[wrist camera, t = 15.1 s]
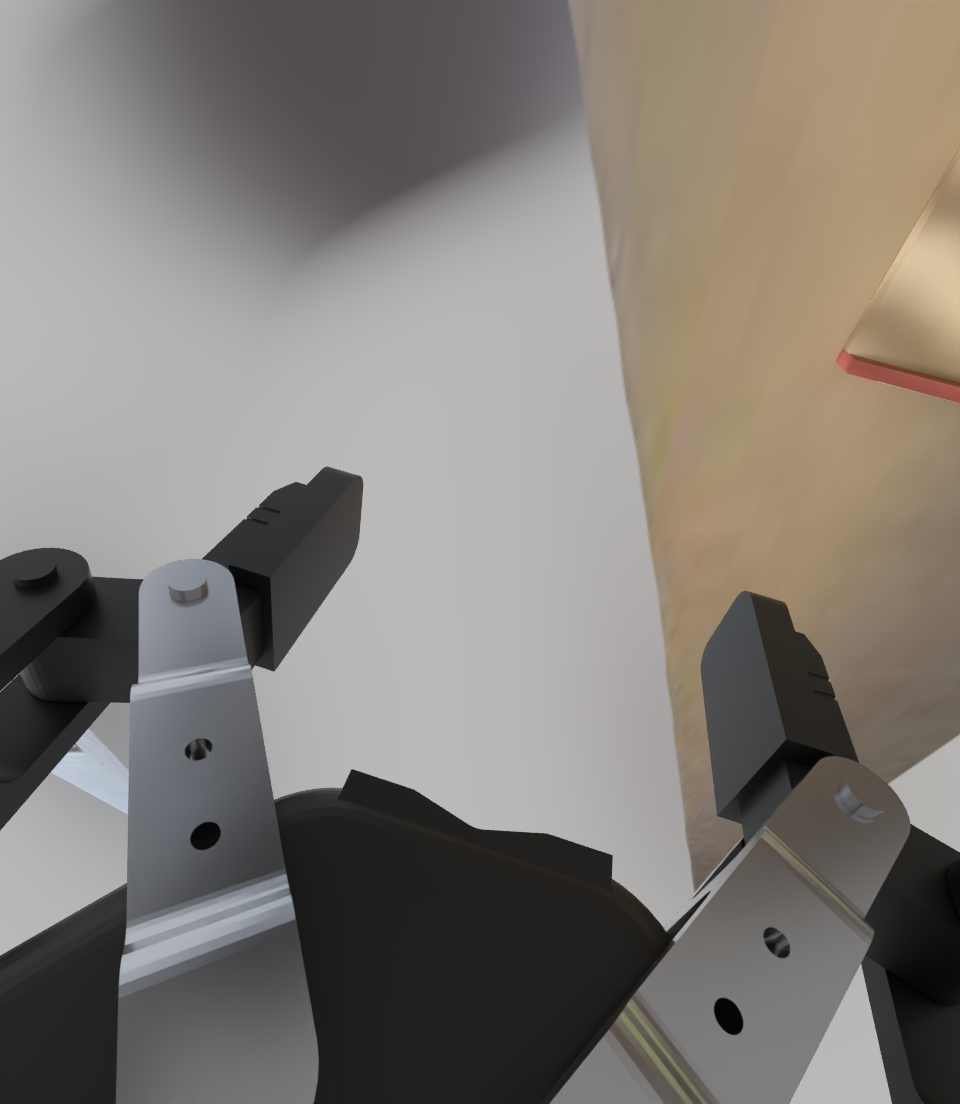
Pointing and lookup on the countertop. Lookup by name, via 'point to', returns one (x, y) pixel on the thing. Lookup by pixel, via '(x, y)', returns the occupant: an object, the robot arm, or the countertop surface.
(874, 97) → the countertop surface
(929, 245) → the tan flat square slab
